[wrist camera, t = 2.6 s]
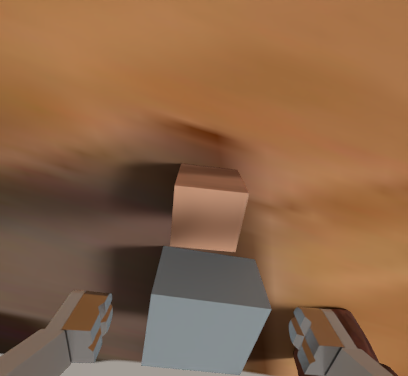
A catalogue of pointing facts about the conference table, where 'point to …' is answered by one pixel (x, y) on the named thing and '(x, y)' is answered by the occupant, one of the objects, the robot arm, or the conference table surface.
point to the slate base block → (204, 312)
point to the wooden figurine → (355, 335)
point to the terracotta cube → (208, 208)
